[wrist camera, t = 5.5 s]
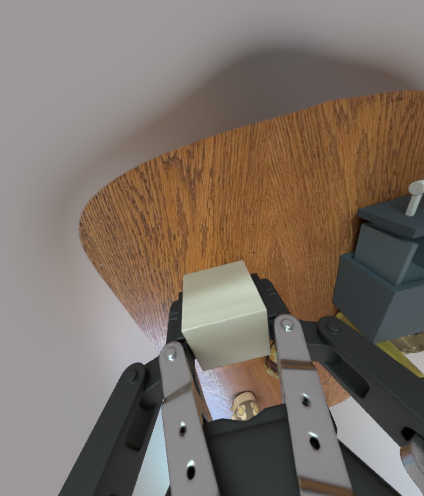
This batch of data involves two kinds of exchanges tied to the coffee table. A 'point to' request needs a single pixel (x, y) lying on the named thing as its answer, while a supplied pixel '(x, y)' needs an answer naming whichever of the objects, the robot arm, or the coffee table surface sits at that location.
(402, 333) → the cabinet
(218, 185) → the coffee table surface
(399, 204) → the drawer
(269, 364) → the ice cream cone
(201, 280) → the block
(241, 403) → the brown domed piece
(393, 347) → the vase
